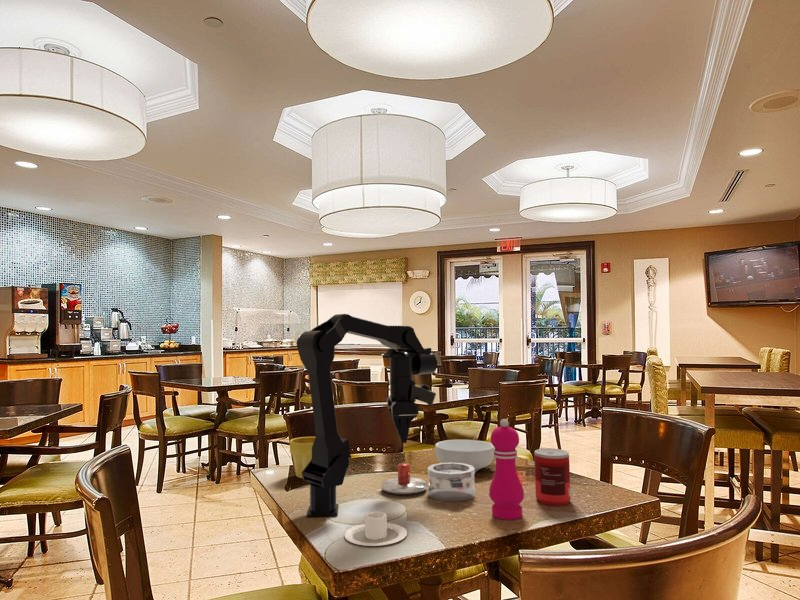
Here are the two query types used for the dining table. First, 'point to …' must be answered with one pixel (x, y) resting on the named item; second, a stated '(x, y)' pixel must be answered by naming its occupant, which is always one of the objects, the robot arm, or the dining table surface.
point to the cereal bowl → (465, 452)
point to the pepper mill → (505, 474)
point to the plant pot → (301, 453)
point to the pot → (451, 481)
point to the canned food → (552, 476)
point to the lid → (404, 482)
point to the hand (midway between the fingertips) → (402, 439)
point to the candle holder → (376, 529)
